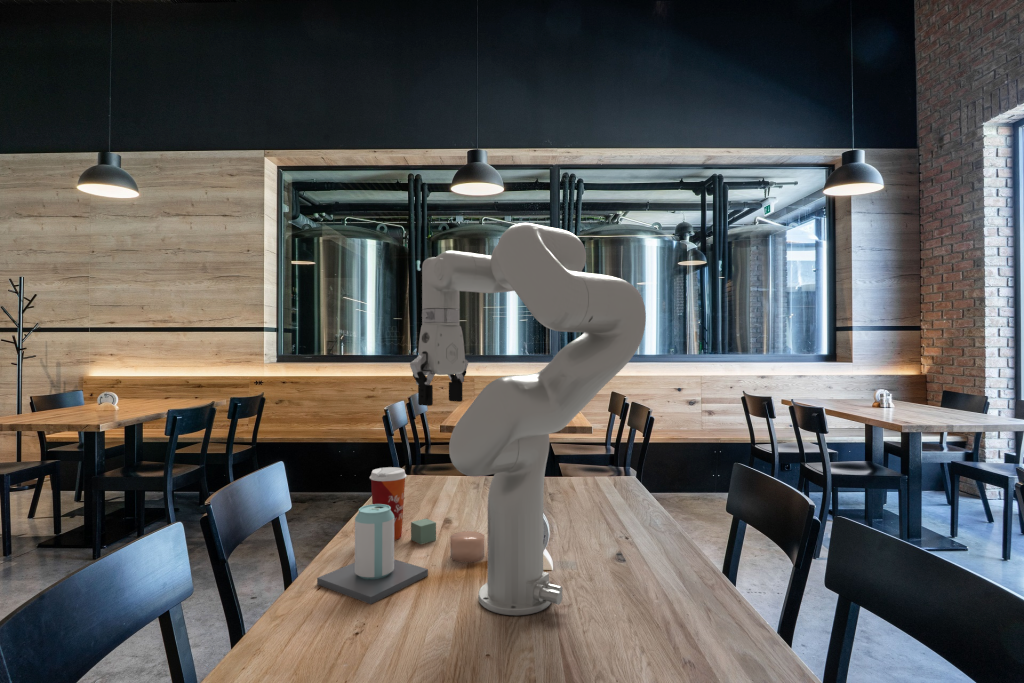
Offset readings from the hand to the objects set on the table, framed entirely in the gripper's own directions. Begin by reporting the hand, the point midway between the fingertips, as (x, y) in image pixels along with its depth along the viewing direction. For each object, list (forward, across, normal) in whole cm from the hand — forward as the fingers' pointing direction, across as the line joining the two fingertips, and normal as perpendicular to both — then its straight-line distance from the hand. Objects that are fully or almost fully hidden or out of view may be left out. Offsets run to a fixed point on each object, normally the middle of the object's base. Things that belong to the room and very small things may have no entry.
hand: (441, 403), depth 112 cm
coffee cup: (+32, +4, +19) cm, 37 cm away
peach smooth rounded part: (+32, +4, -3) cm, 32 cm away
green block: (+32, +7, +11) cm, 34 cm away
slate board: (+32, -14, +4) cm, 35 cm away
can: (+31, -14, +4) cm, 34 cm away
